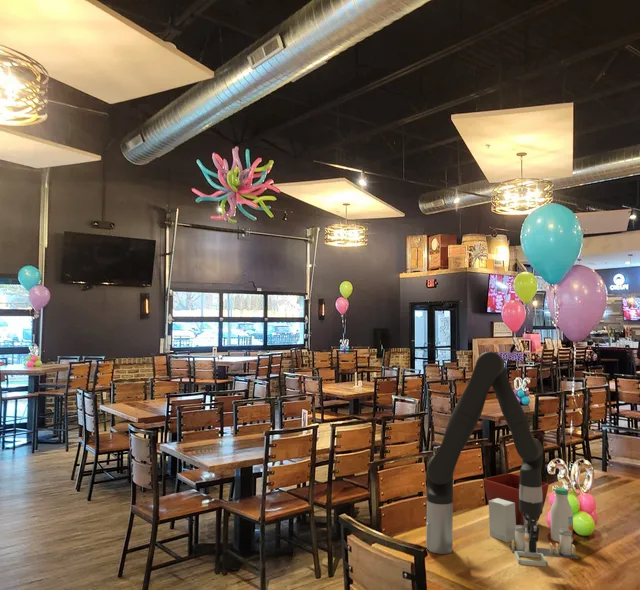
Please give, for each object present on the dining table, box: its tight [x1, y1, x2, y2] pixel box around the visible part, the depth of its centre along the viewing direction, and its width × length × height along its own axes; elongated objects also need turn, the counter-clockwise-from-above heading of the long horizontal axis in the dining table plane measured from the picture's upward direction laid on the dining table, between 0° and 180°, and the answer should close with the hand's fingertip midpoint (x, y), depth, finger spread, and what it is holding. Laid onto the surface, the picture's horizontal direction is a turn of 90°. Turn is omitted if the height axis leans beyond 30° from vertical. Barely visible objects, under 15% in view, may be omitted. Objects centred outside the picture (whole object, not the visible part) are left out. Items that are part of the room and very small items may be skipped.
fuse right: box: [559, 528, 572, 556], centre depth 195 cm, size 4×4×8 cm
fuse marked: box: [525, 527, 538, 555], centre depth 189 cm, size 4×4×8 cm
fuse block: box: [508, 540, 580, 560], centre depth 196 cm, size 22×7×4 cm, turn 81°
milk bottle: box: [550, 487, 574, 543], centre depth 209 cm, size 8×8×20 cm
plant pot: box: [483, 472, 549, 526], centre depth 231 cm, size 19×19×17 cm
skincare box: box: [488, 498, 516, 543], centre depth 210 cm, size 8×6×15 cm
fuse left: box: [514, 525, 525, 552], centre depth 198 cm, size 4×4×8 cm
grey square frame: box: [513, 551, 549, 567], centre depth 189 cm, size 9×8×3 cm
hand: (531, 549), depth 189 cm, fingers closed on fuse marked, 4 cm apart
